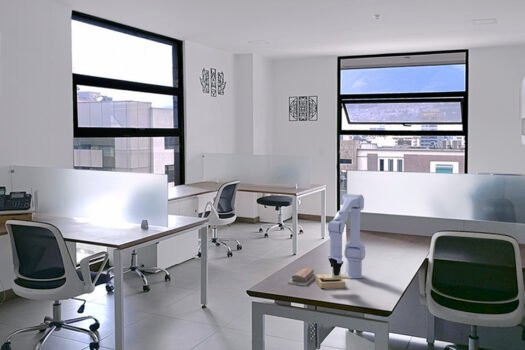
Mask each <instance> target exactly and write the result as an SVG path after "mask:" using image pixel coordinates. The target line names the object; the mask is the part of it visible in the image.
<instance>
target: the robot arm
mask: <svg viewBox="0 0 525 350" xmlns="http://www.w3.org/2000/svg"><path fill="white" fill-rule="evenodd" d="M341 202H342V206H341V209H340V210H338V211H337V212H336V214H335V216H334V218H333V219H332V220H331V221H329V222H328V226H327V230H328V231H327V232H328V236H329V254H327V258H328V261H329V264H330V268H331V267H333V272H334V275H335V276H339V273H340V269H341V268H342V266H343V265H344V261H343V252H344V257H345V258H346V262H345V263H346V265H345V272H344V273H343V274H347V276H348V277H349V279H348V280H351V279H365V276H364V275H363V274H362V271H363V270H362V269H363V268H362V266H363V263H362V262H363V261H364V259H365V258H366V245H365V244H364V243H363V242H361V240H360V238H361V235H360V234H361V211H362V210H364V207H365V197H364V195H363V194H354V193H353V194H352V193H344V194H343V195H342V198H341ZM349 213H350V232H349V233H350V235H349V241H348V242H347V243H345V246H344V247H345V248H344V251H343V234H344V232H345V227H346V222H347V220H348V218H349Z"/></svg>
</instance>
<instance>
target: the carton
mask: <svg viewBox="0 0 525 350" xmlns="http://www.w3.org/2000/svg"><path fill="white" fill-rule="evenodd" d="M328 274H329V273H328ZM328 274H327V273H325V274H315V275H316V278H315V282H316V284H317V285H318V287H319V289H321V288H329V289H346V281H345V279H334V280H325V279H324V278H323V277H322V275H328Z"/></svg>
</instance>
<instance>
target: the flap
mask: <svg viewBox="0 0 525 350" xmlns="http://www.w3.org/2000/svg"><path fill="white" fill-rule="evenodd" d="M341 271H342V270H341V269H340V273H339V276H335V275H334V272H333V267H331V266H330V273H328V275H322V277H323V278H324V279H325V280H334V279H343V280H350V279H349V277H348V276H347V274H344V273H341Z"/></svg>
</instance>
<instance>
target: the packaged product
mask: <svg viewBox="0 0 525 350" xmlns="http://www.w3.org/2000/svg"><path fill="white" fill-rule="evenodd" d="M314 271H315V270H314V268H312V267H310V268H309V267H301V269H299V270H298V271H296V272H295V273H294V274H293V275H291V278H290V279H288V280H287V281H286V282H287V284H289V285H296V286H303V287H306V286H308V284H310V283H311V282H313V281H314V279H316V275H317V274H314Z"/></svg>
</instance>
